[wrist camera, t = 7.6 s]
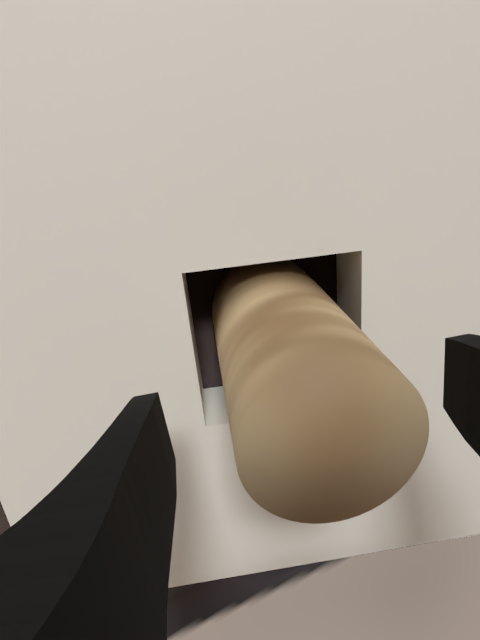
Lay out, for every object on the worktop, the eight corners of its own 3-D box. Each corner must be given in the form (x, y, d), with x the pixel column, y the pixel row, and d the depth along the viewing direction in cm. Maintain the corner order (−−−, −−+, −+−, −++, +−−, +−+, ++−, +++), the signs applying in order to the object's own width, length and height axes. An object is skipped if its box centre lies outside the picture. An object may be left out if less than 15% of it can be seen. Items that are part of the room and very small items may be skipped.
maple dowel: (316, 249, 16) (435, 344, 8) (320, 349, 17) (424, 505, 10) (204, 264, 15) (223, 378, 8) (219, 365, 17) (246, 538, 9)
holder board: (570, -38, 13) (651, -77, 11) (491, 483, 21) (528, 526, 18) (-127, 22, 12) (-204, -7, 10) (60, 554, 19) (43, 609, 17)
